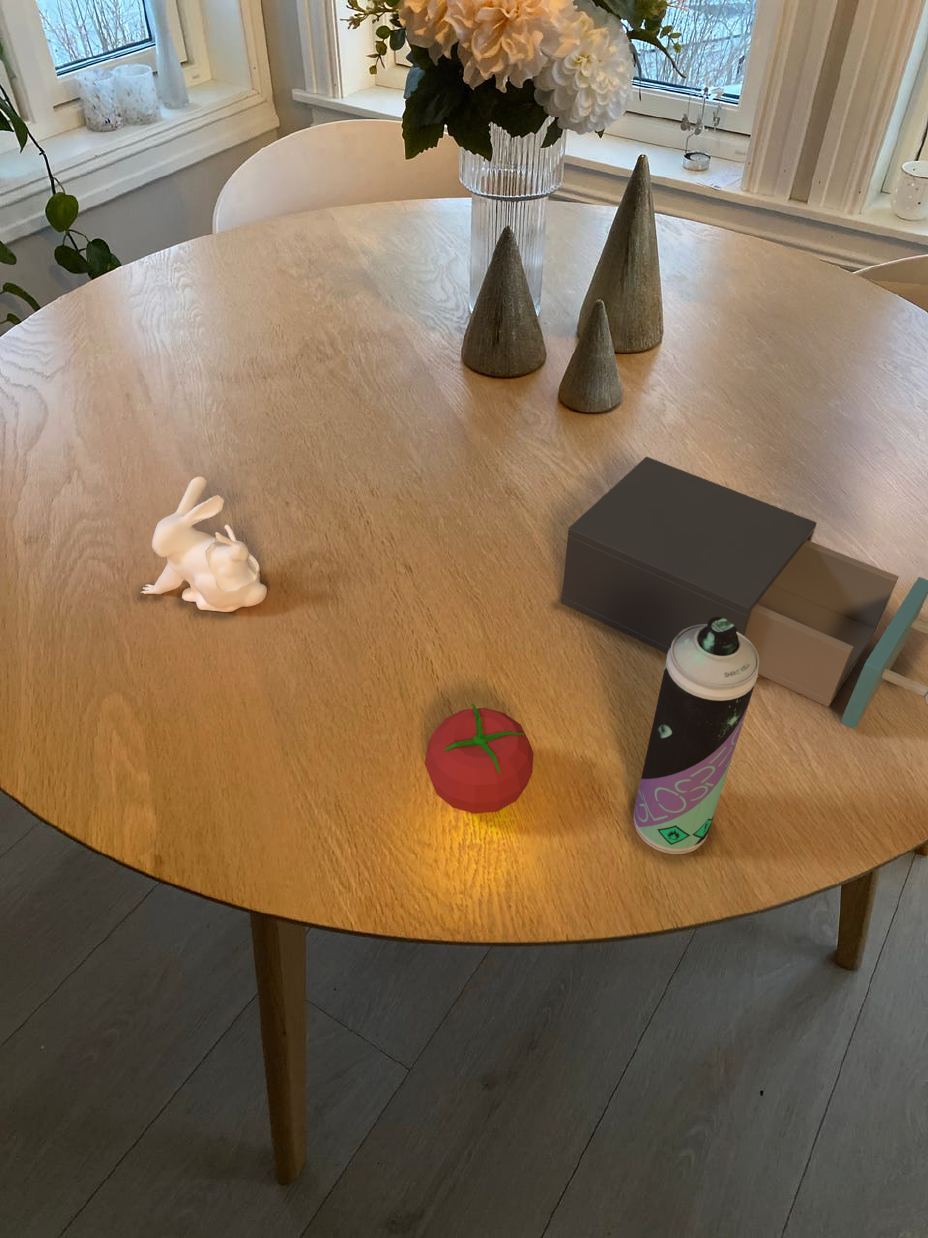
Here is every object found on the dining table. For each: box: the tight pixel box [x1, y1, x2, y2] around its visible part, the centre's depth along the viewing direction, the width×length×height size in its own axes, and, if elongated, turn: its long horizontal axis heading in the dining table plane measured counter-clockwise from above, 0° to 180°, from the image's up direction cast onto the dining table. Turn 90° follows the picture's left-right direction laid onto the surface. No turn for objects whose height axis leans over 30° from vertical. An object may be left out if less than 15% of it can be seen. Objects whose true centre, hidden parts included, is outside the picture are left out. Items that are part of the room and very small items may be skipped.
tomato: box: [424, 702, 535, 815], centre depth 69 cm, size 8×8×8 cm
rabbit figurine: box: [140, 476, 268, 613], centre depth 85 cm, size 12×8×10 cm, turn 67°
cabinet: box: [560, 456, 817, 655], centre depth 85 cm, size 17×14×9 cm
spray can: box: [633, 617, 759, 855], centre depth 63 cm, size 6×6×20 cm
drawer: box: [744, 540, 928, 730], centre depth 79 cm, size 20×12×7 cm, turn 53°
